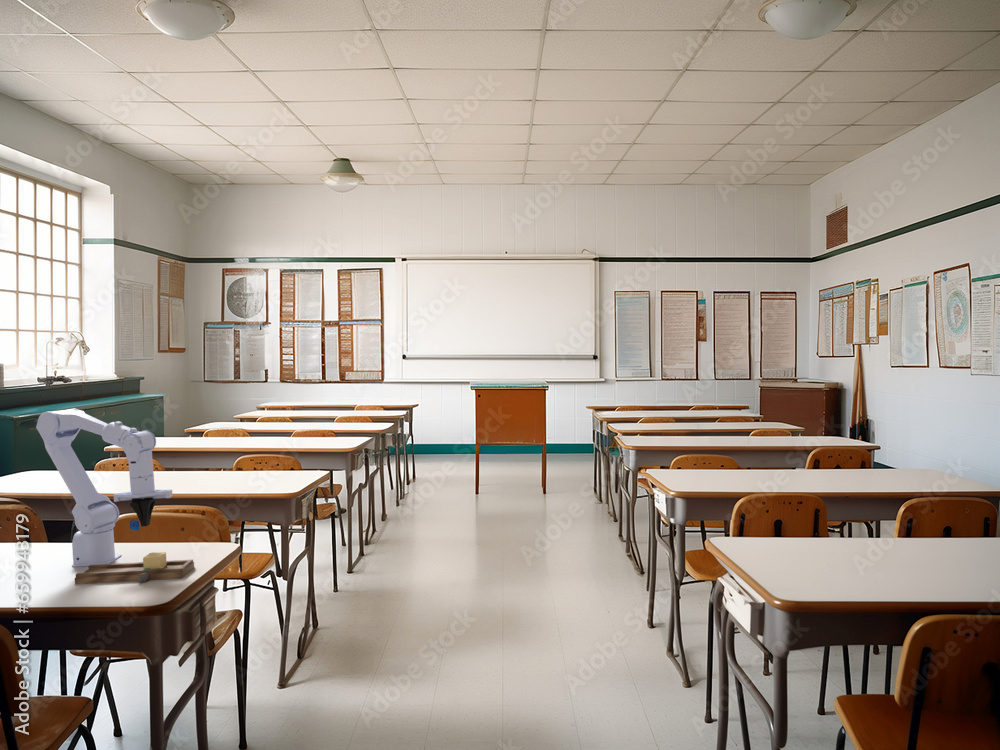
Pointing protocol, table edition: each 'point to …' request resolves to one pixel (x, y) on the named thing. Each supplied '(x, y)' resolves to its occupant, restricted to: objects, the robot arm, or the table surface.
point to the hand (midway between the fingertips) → (145, 525)
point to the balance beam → (133, 572)
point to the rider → (155, 560)
